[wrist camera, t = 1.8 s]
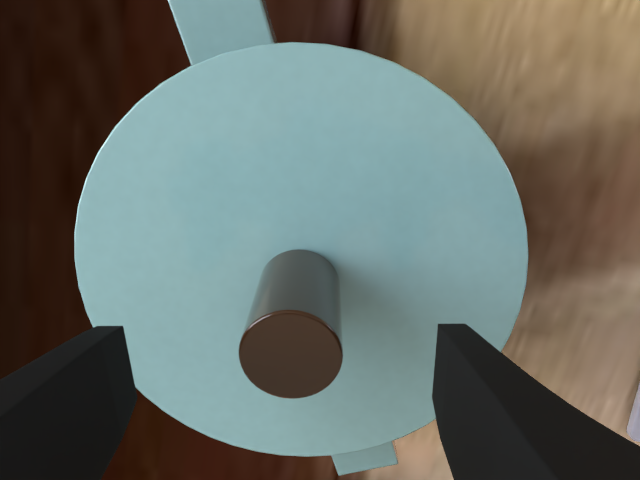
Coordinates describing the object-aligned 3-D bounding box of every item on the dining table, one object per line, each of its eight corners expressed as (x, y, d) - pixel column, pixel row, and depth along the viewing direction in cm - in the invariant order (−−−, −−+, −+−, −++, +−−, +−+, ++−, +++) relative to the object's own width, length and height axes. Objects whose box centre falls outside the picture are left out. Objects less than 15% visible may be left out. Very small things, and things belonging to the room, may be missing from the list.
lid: (478, -25, 12) (563, -71, 8) (539, 390, 17) (613, 510, 12) (11, 122, 14) (-140, 153, 9) (185, 464, 18) (139, 593, 14)
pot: (411, -71, 16) (448, -128, 11) (492, 364, 22) (538, 453, 17) (73, 41, 17) (-29, 35, 12) (238, 419, 23) (214, 515, 18)
